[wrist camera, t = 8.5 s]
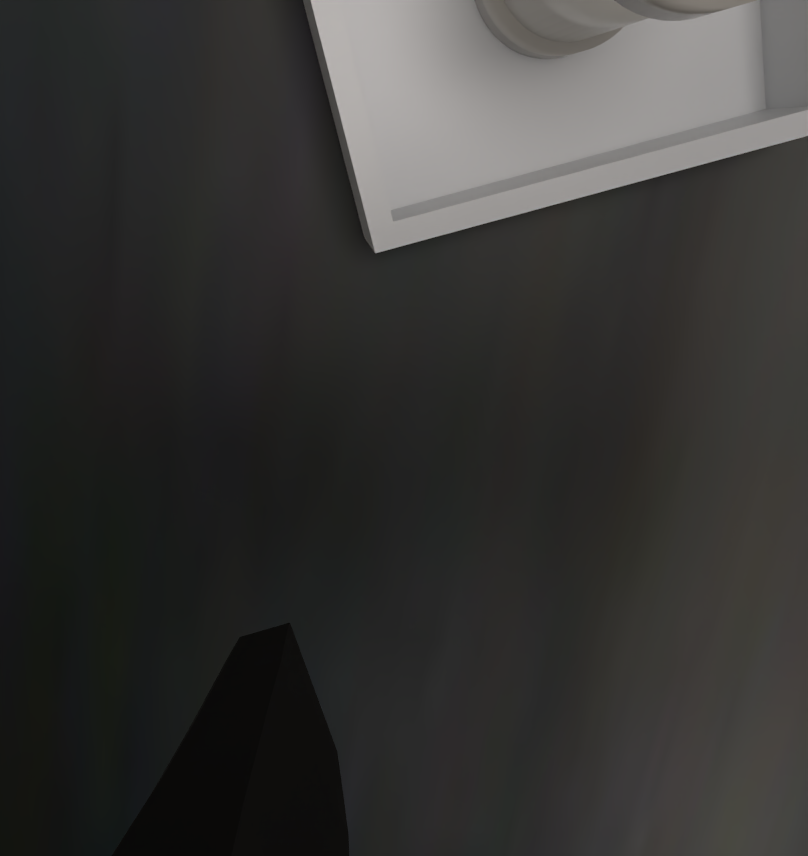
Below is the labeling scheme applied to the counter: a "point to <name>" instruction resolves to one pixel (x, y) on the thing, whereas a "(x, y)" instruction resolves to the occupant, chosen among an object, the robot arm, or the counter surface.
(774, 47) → the tray
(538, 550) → the counter surface
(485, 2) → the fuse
